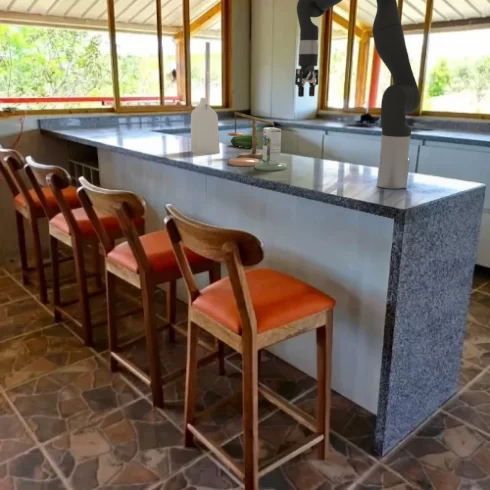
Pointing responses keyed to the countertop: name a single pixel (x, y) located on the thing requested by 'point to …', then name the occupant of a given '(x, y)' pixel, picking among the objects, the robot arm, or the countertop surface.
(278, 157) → the syrup box
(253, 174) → the countertop surface
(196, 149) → the milk
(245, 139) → the vegetable
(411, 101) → the robot arm
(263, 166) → the sage dish
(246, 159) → the terracotta dish
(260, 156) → the balance
